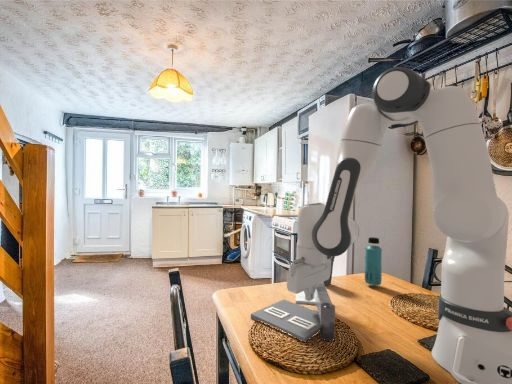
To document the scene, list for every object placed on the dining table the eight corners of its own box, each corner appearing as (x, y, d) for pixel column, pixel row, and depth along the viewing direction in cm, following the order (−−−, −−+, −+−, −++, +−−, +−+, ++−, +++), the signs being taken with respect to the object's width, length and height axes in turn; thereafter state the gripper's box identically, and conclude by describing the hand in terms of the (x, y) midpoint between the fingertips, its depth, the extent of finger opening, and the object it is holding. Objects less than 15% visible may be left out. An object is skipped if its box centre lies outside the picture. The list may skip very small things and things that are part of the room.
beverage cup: (336, 283, 115) (337, 235, 115) (331, 288, 109) (332, 238, 109) (319, 280, 119) (320, 234, 119) (313, 284, 113) (314, 236, 113)
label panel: (335, 321, 81) (335, 316, 81) (304, 342, 69) (304, 336, 69) (283, 302, 94) (283, 298, 94) (250, 317, 82) (250, 312, 82)
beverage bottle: (382, 285, 113) (383, 237, 113) (380, 290, 108) (381, 239, 108) (365, 282, 117) (366, 235, 117) (362, 287, 111) (363, 237, 111)
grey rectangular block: (335, 341, 69) (336, 309, 69) (321, 340, 70) (321, 308, 70) (323, 304, 92) (324, 280, 92) (312, 303, 93) (313, 279, 93)
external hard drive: (317, 293, 105) (319, 306, 93) (296, 291, 106) (295, 304, 94) (317, 289, 105) (320, 302, 93) (296, 287, 106) (295, 300, 94)
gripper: (300, 263, 75) (299, 313, 75) (335, 252, 90) (333, 294, 90) (282, 258, 80) (281, 306, 80) (317, 249, 95) (316, 289, 95)
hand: (309, 299), depth 85 cm, fingers closed
